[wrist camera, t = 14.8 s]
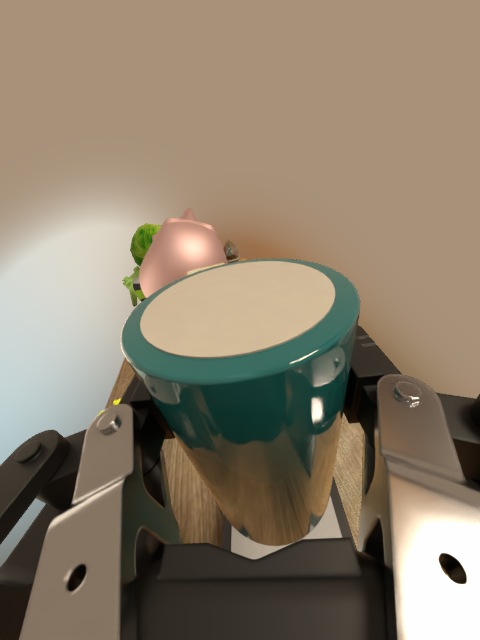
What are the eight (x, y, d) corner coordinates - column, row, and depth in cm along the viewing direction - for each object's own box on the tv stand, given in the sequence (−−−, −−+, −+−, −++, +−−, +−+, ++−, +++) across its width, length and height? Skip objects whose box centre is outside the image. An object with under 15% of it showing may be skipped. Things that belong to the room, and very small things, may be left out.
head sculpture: (218, 225, 67) (251, 197, 39) (211, 305, 73) (236, 329, 45) (149, 213, 60) (131, 167, 33) (148, 301, 66) (131, 326, 38)
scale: (328, 473, 25) (329, 460, 23) (372, 618, 17) (379, 616, 15) (230, 479, 26) (224, 468, 24) (225, 619, 18) (216, 616, 16)
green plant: (139, 280, 66) (164, 302, 73) (153, 254, 75) (174, 276, 82) (109, 295, 72) (136, 314, 79) (126, 270, 81) (148, 289, 88)
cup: (310, 407, 13) (314, 246, 8) (354, 544, 8) (445, 353, 3) (218, 416, 14) (163, 272, 8) (205, 549, 9) (48, 398, 3)
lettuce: (198, 245, 66) (189, 218, 74) (127, 242, 58) (125, 212, 65) (193, 282, 79) (186, 256, 86) (134, 284, 71) (132, 255, 78)
